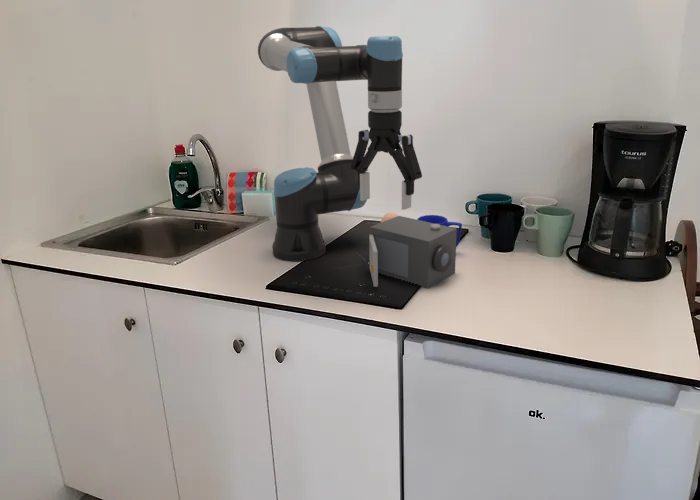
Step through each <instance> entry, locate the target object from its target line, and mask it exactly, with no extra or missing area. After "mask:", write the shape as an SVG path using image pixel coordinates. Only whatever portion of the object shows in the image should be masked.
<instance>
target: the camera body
mask: <svg viewBox="0 0 700 500" xmlns="http://www.w3.org/2000/svg"><path fill="white" fill-rule="evenodd" d="M457 232H458V229H457V228H455V227H451V226H449V227H447V226H443V225H440V224H434V223H429V222H425V221H420V220H417V219H415V218H411V217H406V216H402V215H399V216H397V217H394V218H392V219H389V220H387V221H384V222H381V221H380V222H379V223H377V224H373V225H372V226H370V227H369V235H370V234H373V237H374V241H375V244H376V248H377V251H378V274H380V273H381V275H383V274H384V275H383V276H387V277H390V276H391V277H390V278H393V277H394V279H396V278H397V279H396V280H399V279H401V280H400V281H403V280H405V281H404V282H406V281H408V282H407V283H409V282H411V283H410V284H412V283H414V284H413V285H415V284H418V285H417V286H419V285H420V286H419V287H421V288H422V287H423V288H426V289H429V288H431V287H433V286H436V284H438V283H441V282H442V281H443V280H445V279H447V278H449V277H451V276H453V275H454V274H455V273H456V260H457V259H456V257H457V256H456V255H457V247H456V241H457V236H458V233H457Z"/></svg>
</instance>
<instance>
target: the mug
mask: <svg viewBox="0 0 700 500" xmlns="http://www.w3.org/2000/svg"><path fill="white" fill-rule="evenodd" d="M416 220H420V221H425V222H429V223H434V224H440V225H443V226H447V227H451V226H458V233H457V237H456V248H457V247H458V245H459V243H460V240H461V239H460V238H461V236H462V235H461V234H462V229H463V228H462V227H463V223H461V222H458V221H457V222H456V221H449V220H448V218H447V217H445V216H442V215H437V214H426V215H421V216H420V217H418V218H417V219H416Z"/></svg>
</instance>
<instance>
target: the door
mask: <svg viewBox="0 0 700 500" xmlns="http://www.w3.org/2000/svg"><path fill="white" fill-rule="evenodd" d="M368 239H369V243H368V244H369V245H368V247H369V271H370V276H371V279H372V284H373V285H372V286H373V287H374V288H375V287H376V288H377V287H379V278H378V277H379V273H378V251H377V248H376V244H375V241H374V237H373V234H370V233H369V234H368Z"/></svg>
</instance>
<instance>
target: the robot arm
mask: <svg viewBox="0 0 700 500" xmlns="http://www.w3.org/2000/svg"><path fill="white" fill-rule="evenodd" d="M366 42H367V43H366V44H357V45H349V46H348V45H347V46H346V45H345V46H343V43H342V40H341V38H340V36H339V33H338V32H337V31H336V30H335V29H334V28H332V27H328V26H321V25H320V26H319V25H318V26H317V25H316V26H311V27H310V26H309V27H305V26H304V27H279V28H276V29H272V30H270V31H268V32H267V33H266V34H264V35H263V36H262V38H261V39H260V41H259V43H258V46H257V56H258V59H259V60H260V62H261V64H262V65H263V66H264V67H265V68H267V69H269V70H271V71H275V72H280V71H282V72H283V71H284V72H287V74H288V77H289V80H290V81H291V82H292V83H294V84H305V85H306V88H307V93H308V99H309V103H310V110H311V115H312V119H313V124H314V129H315V135H316V140H317V146H318V149H319V150H318V151H319V156H320V160H321V161H320V163H319V165H318V166H317V170H316V169H315V168H313V167H303V168H302V167H298V168H293V169H288V170H285V171H283V172H280V173H279V174H278V175H276V177H275V178H274V181H273V195H274V204H275V205H274V206H275V217H276V218H275V220H276V231H275V234H274V241H273V242H272V243H273V244H272V245H271V246H272V249H271V250H272V255H273V257H274V258H276V259H279V260H281V261H287V262H302V261H303V262H304V261H309V260H313V259H317V258H319V257H321V256H323V255H324V254H326V251H327V250H326V249H327V247H326V246H327V245H326V241H325V239H324V236H323V234H322V230H321V229H320V228H321V227H320V226H319V215H323V214H330V213H331V214H333V213H338V212H339V213H340V212H346V211H347V212H350V211H352V210H357V209H362V208H363V207H364V206H365V205H366V203H367V201H368V200H370V199H371V193H370V191H371V190H370V187H371V186H370V185H371V183H370V172H369V168H370V165H371V164H372V162H373V161H374V159H375V157H376V155H377V154H378V152H379V153H380V152H383V153H387V154H389V155H390V156H391V157H392V158H393V161H394V162H395V164H396V166H397V168H398V169H399V172H400V173H401V175H402V177H403V179H404V180H402V181H401V210H403V211H404V210H407V209H410V208H412V195H414V193H415V181H416V180H419V179H422V178H423V174H422V169H421V167H420V163H419V160H418V157H417V154H416V151H415V148H414V141H413V140H414V137H413V135H412V134H406V135H405V134H404V135H403V134H402V133H401V128H402V126H403V124H402V123H403V122H402V121H403V119H402V117H403V115H402V114H403V113H402V111H401V110H400V109H402V107H403V90H402V87H403V56H404V54H403V47H402V45H403V44H402V42H403V41H402V39H401V37H399V36H397V35H391V36H390V35H386V36H384V35H383V36H370V37H368V39H367V41H366ZM343 81H344V82H348V81H349V82H350V81H367V108H368V109H369V111H368V112H367V125H368V128H369V130H368V129H364V130H359V131H358V139H357V140H358V141H357V144H356V148H355V151H354V155H353V156H352V154H351V149H350V145H349V139H348V134H347V129H346V124H345V119H344V115H343V109H342V105H341V100H340V95H339V90H338V88H339V87H338V84H337V82H343ZM369 141H370V144H369ZM368 145H369V146H368Z"/></svg>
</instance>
